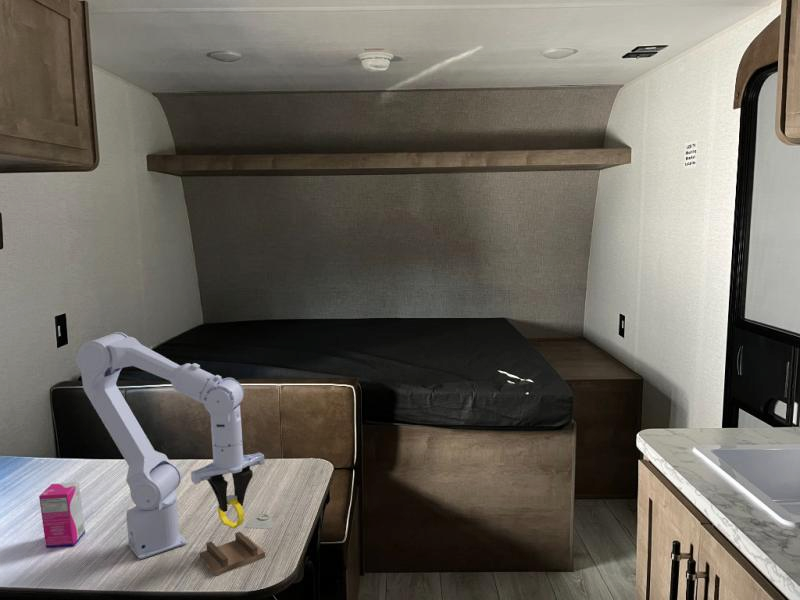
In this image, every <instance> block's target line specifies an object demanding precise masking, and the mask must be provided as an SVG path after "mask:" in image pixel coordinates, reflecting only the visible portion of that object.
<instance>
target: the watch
mask: <svg viewBox="0 0 800 600" xmlns="http://www.w3.org/2000/svg"><path fill="white" fill-rule="evenodd" d="M227 505H232V507H233V508H234V509H235V511H236V514H237V522H234V521H231V520H229V519H230V518H228V516H227V514H226V512H223V511H222V510H221V509H220V507H219V505H218V506H217V508H218V509H217V510H218V511H217V512H218V516H219V519H220V521H221V522H222V524H223V525H224V526H228V527H230V528H232V529H236V528H238V527H240V526H241V525H242V524H243V523H244V519H245V514H244V513H245V512H244V509H243V506H241V504H240V503H239V502H238V497H237V496H236V495H235V494H229V495H228V494H227Z"/></svg>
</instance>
